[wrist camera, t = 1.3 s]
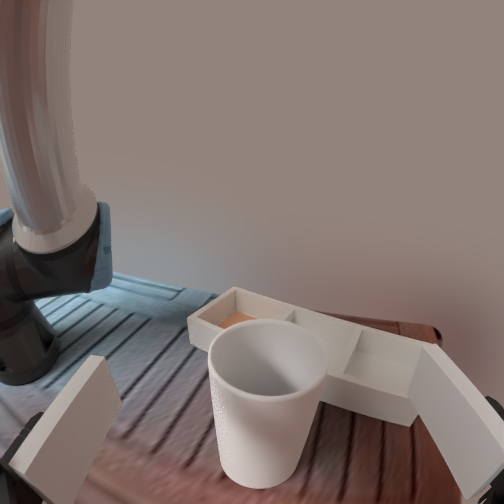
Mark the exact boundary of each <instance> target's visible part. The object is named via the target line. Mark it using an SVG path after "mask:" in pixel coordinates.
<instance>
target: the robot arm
mask: <svg viewBox="0 0 504 504" xmlns="http://www.w3.org/2000/svg"><path fill="white" fill-rule="evenodd" d="M74 1H75V0H0V171H1V174H2V177H3V180H4V182H5V186H6V188H7V191H8V194H9V196H10V199H11V201H12V204H13V207H14V209H15V211H16V212H15V215H14V212H13V211H12V209H11V208H6V209H2V210H0V382H2V383H4V384H8V385H21V384H25V383H29V382H31V381H33V380H35V379H37V378H39V377H41V376H42V375H43V374H45V373H46V372H47V371H48V370H49V369H50V368H51V367H52V365H53V364H54V363H55V361H56V359H57V357H58V355H59V351H60V344H59V340H58V338H57V335H56V333H55V331H54V329H53V327H52V326H51V325H50V323H49V322H48V321H47V320H46V318H45V317H44V316H43V314H42V313H41V312H40V310H39V309H38V307H37V306H36V305H35V302H34V300H36V299H43V298H49V297H56V296H63V295H70V294H78V293H90V292H92V291H94V290H99V289H104V288H106V287H108V286H109V285H110V283H111V281H112V276H113V272H112V252H111V225H110V207H109V205H108V204H107V203H102V202H97V201H96V197H95V195H94V193H93V191H92V190H91V189H90V188H89V187H88V186H86V185H85V184H83V183H81V182H80V176H79V170H78V164H77V157H76V149H75V141H74V132H73V122H72V109H71V89H70V49H71V29H72V17H73V9H74ZM407 396H408V397H409V399H410V401H411V402H412V404H413V406H414V407H415V409H416V411H417V412H418V414H419V416H420V417H421V419H422V421H423V422H424V424H425V426H426V428H427V429H428V431H429V433H430V435H431V436H432V438H433V440H434V442H435V443H436V445H437V447H438V449H439V451H440V452H441V454H442V456H443V458H444V460H445V462H446V464H447V465H448V467H449V469H450V471H451V473H452V475H453V477H454V479H455V481H456V483H457V485H458V487H459V489H460V491H461V493H462V495H463V497H464V499H465V501H467V500H469V499H471V498H472V497H474V496H476V495H477V494H479V493H480V492H482V491H483V490H484V489H485V488H486V487H487V486H488V485H489V484H490V485H491V486H492V487H491V488H490V489H489V490H488V491H487V492H486V493H485V494H484V495H483V496H482V497H481V498H480V499H479V502H478V504H480V503H481V502H482V501H483V500H484V499H486V498H487V499H486V500H485V502H484V503H483V504H504V409H503V407H502V406H501V405H500V404H499V403H498V402H497V401H496V400H494V399H493V398H491V397H489V396H486V397H483V395H482V394H481V393H480V392H479V391H478V390H477V388H476V387H475V386H474V385H473V384H472V383H471V381H470V380H469V379H468V378H467V377H466V376H465V375H464V374H463V372H462V371H461V370H460V369H459V368H458V367H457V366H456V365H455V363H454V362H453V361H452V360H451V359H450V358H449V357H448V356H447V355H446V354H445V353H444V352H443V350H442V349H441V348H440V347H439V346H438V345H437V344H436V343H435V344H431V345H426V346H422V349H421V352H420V356H419V359H418V362H417V365H416V369H415V372H414V375H413V378H412V381H411V384H410V387H409V389H408V392H407ZM121 405H122V402H121V399H120V397H119V394H118V392H117V389H116V387H115V384H114V381H113V379H112V376H111V373H110V370H109V368H108V365H107V362H106V359H105V357H103V356H96V355H90V356H89V357H88V358H87V359H86V361H85V362H84V363H83V364H82V366H81V367H80V368H79V369H78V370H77V372H76V373H75V374H74V375H73V377H72V378H71V379H70V380H69V382H68V383H67V384H66V386H65V387H64V388H63V389H62V391H61V392H60V393H59V394H58V396H57V397H56V398H55V400H54V401H53V402H52V404H51V405H50V406H49V408H48V409H47V410H46V412H45V413H43V412H39V413H38V414H36V415H35V416H33V417H32V418H31V419H30V420H29V421H28V423H27V424H26V425H25V428H24V429H22V431H21V432H20V433H19V434H20V435H19V436H17V437H16V439H15V440H14V442H13V443H12V444H11V446H10V447H9V449H8V450H7V451H6V453H5V454H4V456H3V457H2V458H1V460H0V504H41V503H42V501H43V500H44V501H45V502H46V503H47V504H73V503H74V501H75V499H76V497H77V495H78V492H79V490H80V488H81V486H82V484H83V482H84V479H85V477H86V475H87V473H88V471H89V469H90V467H91V465H92V463H93V461H94V459H95V456H96V454H97V452H98V450H99V448H100V446H101V444H102V442H103V440H104V438H105V436H106V434H107V432H108V430H109V428H110V426H111V425H112V423H113V421H114V419H115V417H116V415H117V413H118V411H119V409H120V407H121Z"/></svg>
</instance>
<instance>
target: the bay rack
mask: <svg viewBox="0 0 504 504" xmlns="http://www.w3.org/2000/svg"><path fill="white" fill-rule="evenodd" d="M254 319H277V320H284V321H288V322H292V323H295V324H298V325H300V326H303V327H305V328H307V329H308V330H310V331H312V332H313V333H314V334H316V335H317V336H318V337H319V338H320V339H321V340H322V341H323V343H324V344H325V346H326V348H327V350H328V354H329V367H328V372H327V375H326V379H325V383H324V386H323V390H322V393H321V397H320V401H323V402H326V403H329V404H332V405H335V406H338V407H341V408H344V409H347V410H350V411H353V412H356V413H360V414H363V415H366V416H370V417H373V418H377V419H380V420H384V421H388V422H392V423H396V424H400V425H404V426H408V427H410V426H411V424H412V423H413V421H414V420H415V418H416V417H417V415H418V412H417V411H416V409H415V407H414V406H413V404H412V402H411V401H410V399H409V397H408V396H407V392H408V389H409V387H410V384H411V381H412V378H413V375H414V372H415V369H416V365H417V362H418V359H419V356H420V352H421V349H422V346H426V345H431V343H427V342H423V341H419V340H415V339H411V338H407V337H404V336H400V335H396V334H392V333H388V332H385V331H381V330H377V329H374V328H370V327H366V326H363V325H359V324H356V323H352V322H349V321H345V320H342V319H338V318H335V317H331V316H328V315H325V314H321V313H318V312H314V311H311V310H308V309H304V308H301V307H298V306H295V305H291V304H288V303H285V302H282V301H279V300H275V299H272V298H269V297H266V296H263V295H260V294H257V293H253V292H250V291H247V290H244V289H241V288H238V287H235V286H233V287H232V288H230V289H229V290H227V291H226V292H224V293H223V294H221V295H220V296H218V297H217V298H215V299H214V300H212V301H211V302H209V303H208V304H206V305H205V306H203V307H202V308H201V309H199V310H198V311H196V312H195V313H193V314H192V315H190V316H189V317H187V323H188V331H189V339H190V344H192V345H194V346H196V347H198V348H200V349H201V350H203V351H205V352H207V353H208V352H209V348H210V345H211V343H212V341H213V340H214V338H215V337H216V336H217V335H218V334H219V333H220V332H222V331H223V330H225V329H226V328H228V327H230V326H232V325H234V324H237V323H240V322H244V321H248V320H254Z"/></svg>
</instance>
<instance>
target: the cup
mask: <svg viewBox="0 0 504 504" xmlns="http://www.w3.org/2000/svg"><path fill="white" fill-rule="evenodd" d="M208 367H209V377H210V386H211V395H212V403H213V411H214V419H215V427H216V434H217V441H218V448H219V454H220V461H221V465H222V468H223V470H224V471H225V473H226V474H227V475H228V476H229V477H230V478H231V479H232V480H233V481H235V482H236V483H238V484H240V485H243V486H246V487H249V488H257V489H262V488H270V487H273V486H276V485H279V484H281V483H283V482H284V481H286V480H287V479H288V478H289V477H290V476H291V475H292V474H293V472H294V471H295V469H296V467H297V464H298V462H299V459H300V456H301V454H302V451H303V448H304V445H305V443H306V440H307V437H308V434H309V431H310V428H311V425H312V422H313V419H314V416H315V413H316V410H317V406H318V403H319V400H320V397H321V393H322V390H323V386H324V383H325V379H326V375H327V372H328V367H329V354H328V350H327V348H326V346H325V344H324V343H323V341H322V340H321V339H320V338H319V337H318V336H317V335H316V334H314V333H313V332H312V331H310V330H308V329H307V328H305V327H303V326H300V325H298V324H295V323H292V322H288V321H284V320H277V319H254V320H248V321H244V322H240V323H237V324H234V325H232V326H230V327H228V328H226V329H225V330H223V331H222V332H220V333H219V334H218V335H217V336H216V337H215V338H214V340H213V341H212V343H211V345H210V348H209V352H208Z"/></svg>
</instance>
